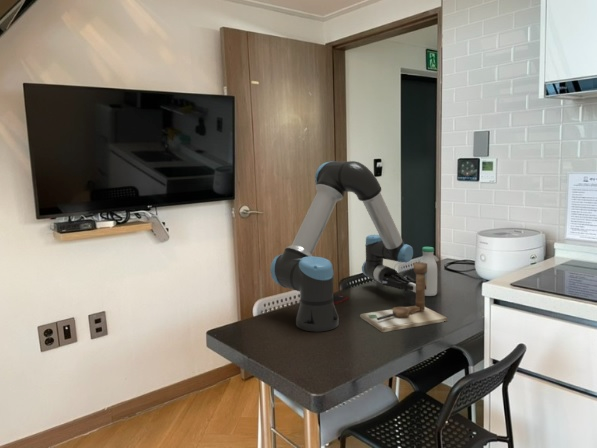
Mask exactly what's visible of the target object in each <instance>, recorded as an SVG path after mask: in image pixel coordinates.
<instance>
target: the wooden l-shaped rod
mask: <svg viewBox="0 0 597 448" xmlns="http://www.w3.org/2000/svg"><path fill="white" fill-rule="evenodd" d="M413 273H415V281H416V293H415V305H412V306H413V307H409V306H408V307H409V308H406V307H407V306H394V307H392V309H393V314H389V315H385V316H382V317H378V318H377V320H381V319H385V318H388V317H392V316H396V317H407V316H408V315H409V313H412V312H416V311H419V310H424V309H425V307H426V305H425V303H426V301H425V300H426V299H425V297H426V296H425V273H427V263H423V262H420V261H419V262H414V263H413Z"/></svg>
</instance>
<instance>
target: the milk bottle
mask: <svg viewBox="0 0 597 448" xmlns="http://www.w3.org/2000/svg"><path fill="white" fill-rule="evenodd" d="M421 250H422V251H421V252H422V257H421V259H420V261H419V262H423V263H427V273H425V297H433V296H436V295H437V294H438V264H437V262H436V260H435V257H434V253H435V248H434V247H432V246H423V247H422V249H421Z"/></svg>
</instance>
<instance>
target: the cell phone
mask: <svg viewBox="0 0 597 448" xmlns="http://www.w3.org/2000/svg"><path fill="white" fill-rule="evenodd" d="M349 298H350V297H349V296H346V295H345V296H344V295H341V294H336V293H333V303H334V306H335V305H337V304H339V303H341V302H344V301H347V300H349Z"/></svg>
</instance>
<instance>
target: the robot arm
mask: <svg viewBox="0 0 597 448" xmlns="http://www.w3.org/2000/svg"><path fill="white" fill-rule="evenodd" d="M314 178H315V180H314V181H315V182H314V183H315V190H316V194H315V195H314V198H313V200H312V201H311V204H310V206H309V207H308V210H307V213H306V215H305V216H304V219H303V220H302V223H301V225H300V227H299V229H298V230H297V233H296V235H295V237H294V240H293V241H292V244H291V245H289V246H286V247H285V249H284V251H283V253H281V254H279V255H276V256H275V257H274V258H273V260H272V262H271V264H270V274H271V279H272V280H273V282H274V283H275V284H277V285H279V286H281V287H282V288H284V289H285V288H286V289H291V290H294V291H297V292H300V293H299V296H300V300H299V301H300V302H299V303H300V304H299V307H298V311H297V314H296V318H295V324H296V325H295V326H296V327H297V328H298V329H301V330H303V331H307V332H327V331H331V330H333V329H335V328H337V327H338V326H339V323H340V322H339V321H340V319H339V318H340V317H339V315H338V312H337V309H336V306H335V305H334V303H333V295H334V268H333V263H332V262H331V260H329V259H327V258H324V257H321V256H313V254H314V251H315V250H316V247H317V245H318V243H319V241H320V239H321V236H322V235H323V232H324V229H326V226H327V223H328V221H329V219H330V218H331V214H332V213H333V210H334V209H335V206H336V204H337V202H340V201H342V200H343V199H344V196H345V195H346V192H348V193H350V192H351V193H353V194H354V195H356V197H357V199H358V200H359V201H361V202H362V203H363V206H364V207H365V209H366V211H367V212H368V216H369V217H370V220H371V221H372V224H373V225H374V227H375V229H376V231H377V233H378V234H369V235H367V236H366V237H365V245H364V246H365V261H364V262H363V264H362V266H361V272H362V274H363V275H364V276H365V277H367V278H369V279H372V280H373V281H377V282H378V283H380V284H381V285H383V286H386V287H390V288H395V289H398V290H401V291H402V290H404V292H408V291H411V292H413V293H415V294H416V279H414V278H413V277H411V275H410V274H407V275H405V276H404V275H402V274H399V273H398V271H397V270H396V269H395V268H392V267H389V266H387V265H384V260H388V261H393V262H397V263H409V262H410V261H411V260H412V258H413V256H414V249H413V246H411V245H409V244H407V243H404V240H403V239H402V236H401V234H400V232H399V230H398V227H397V226H396V223H395V221H394V219H393V217H392V215H391V213H390V211H389V209H388V206H387V204H386V202H385V200H384V198H383V195H382V187H381V185H380V183H379V181H378V179H377V177H376V176H375V175H374V173H373V172H372V171H371V169H369V168H368V167H367V166H366V165H364V164H363V163H361V162H359V161H355V160H352V161H351V160H349V161H335V160H332V161H326V162H324V163H322V164H321V165H320V166H319V167H318V168H317V169H316V172H315V175H314Z"/></svg>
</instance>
